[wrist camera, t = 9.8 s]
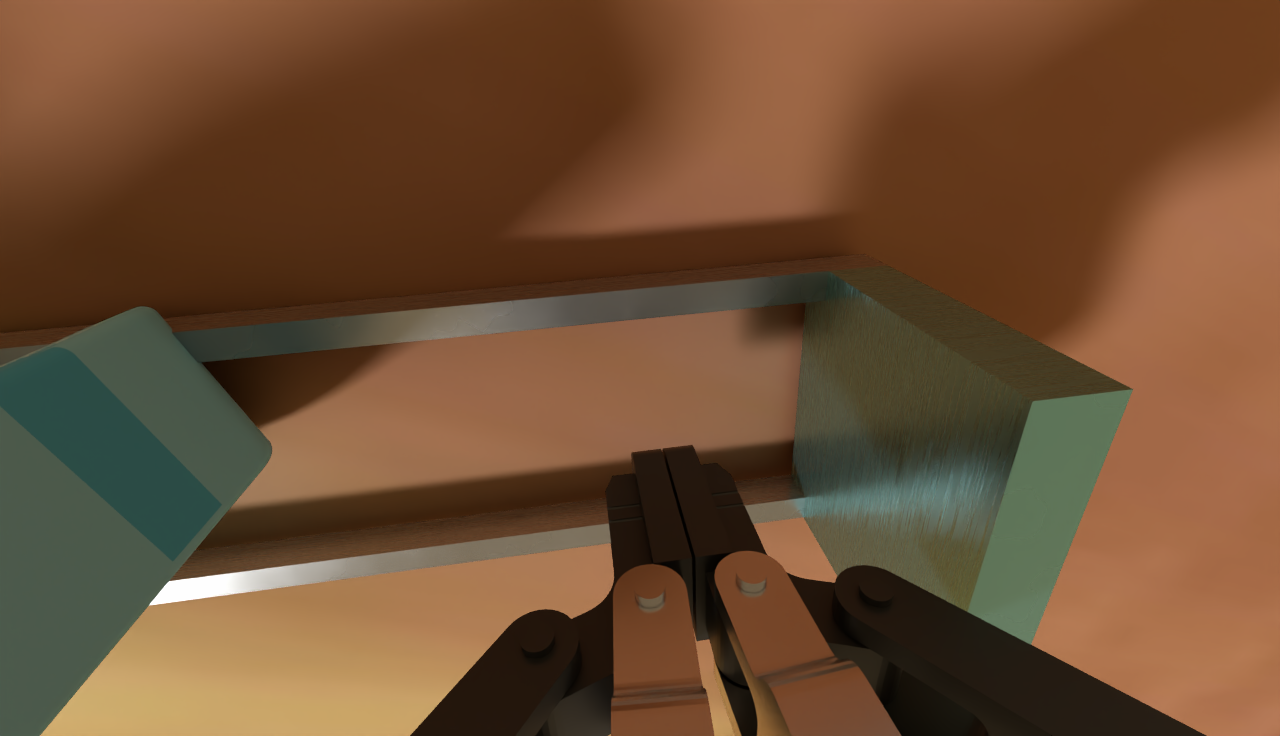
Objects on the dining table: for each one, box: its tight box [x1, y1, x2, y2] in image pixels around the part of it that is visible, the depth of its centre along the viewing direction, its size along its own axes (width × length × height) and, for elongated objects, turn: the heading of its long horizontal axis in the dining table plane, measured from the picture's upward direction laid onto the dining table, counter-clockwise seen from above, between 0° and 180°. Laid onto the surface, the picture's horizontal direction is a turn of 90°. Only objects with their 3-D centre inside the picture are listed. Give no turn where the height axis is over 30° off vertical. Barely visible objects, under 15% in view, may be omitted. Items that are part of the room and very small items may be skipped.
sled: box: [0, 254, 1133, 645], centre depth 12 cm, size 8×30×8 cm, turn 93°
